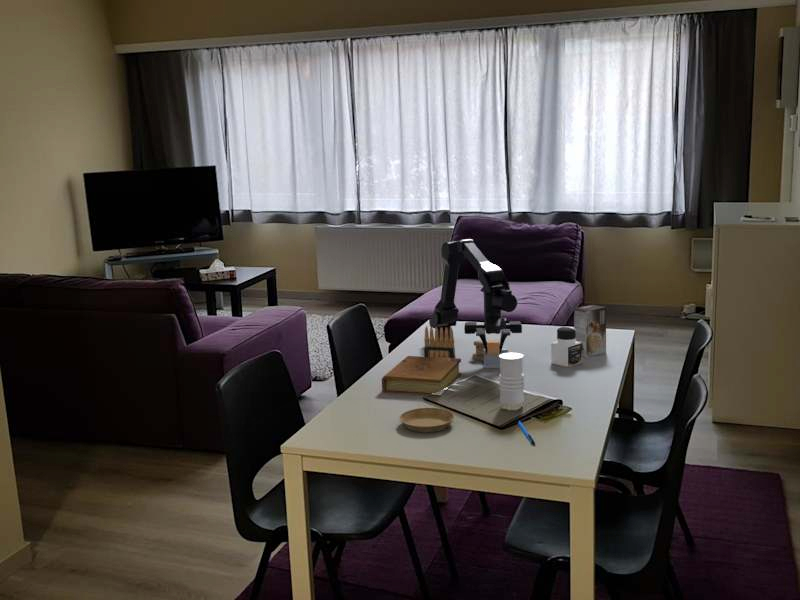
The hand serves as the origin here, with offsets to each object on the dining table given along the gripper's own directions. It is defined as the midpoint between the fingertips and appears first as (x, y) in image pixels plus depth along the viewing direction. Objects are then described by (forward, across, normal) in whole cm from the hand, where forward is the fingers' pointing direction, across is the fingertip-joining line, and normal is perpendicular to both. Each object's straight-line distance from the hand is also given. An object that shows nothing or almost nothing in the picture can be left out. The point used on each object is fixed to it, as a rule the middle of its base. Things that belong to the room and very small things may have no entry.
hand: (493, 352), depth 283 cm
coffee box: (+4, +33, +12) cm, 35 cm away
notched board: (+4, +1, 0) cm, 4 cm away
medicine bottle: (+4, +24, 0) cm, 24 cm away
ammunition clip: (+4, -18, +4) cm, 19 cm away
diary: (+4, -22, -20) cm, 30 cm away
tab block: (+1, 0, 0) cm, 1 cm away
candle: (+4, +5, -44) cm, 45 cm away
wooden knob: (+4, -4, +8) cm, 10 cm away
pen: (+4, +8, -64) cm, 65 cm away
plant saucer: (+4, -18, -58) cm, 61 cm away
